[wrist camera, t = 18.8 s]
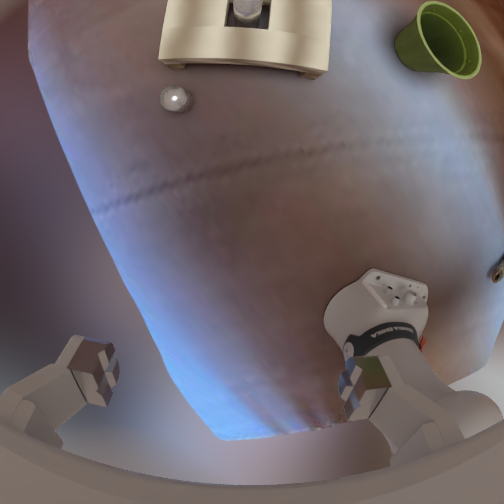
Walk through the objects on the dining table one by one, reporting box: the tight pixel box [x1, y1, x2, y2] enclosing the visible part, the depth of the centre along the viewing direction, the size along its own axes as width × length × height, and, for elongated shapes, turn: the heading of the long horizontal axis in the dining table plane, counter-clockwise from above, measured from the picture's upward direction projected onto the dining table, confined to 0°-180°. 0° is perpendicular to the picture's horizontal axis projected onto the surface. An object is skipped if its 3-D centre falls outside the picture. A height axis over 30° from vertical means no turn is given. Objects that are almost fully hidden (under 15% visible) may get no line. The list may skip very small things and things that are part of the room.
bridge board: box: [158, 0, 332, 80], centre depth 27 cm, size 20×14×7 cm
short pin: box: [160, 86, 194, 113], centre depth 32 cm, size 3×3×6 cm
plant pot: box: [395, 1, 481, 79], centre depth 26 cm, size 12×12×11 cm
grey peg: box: [233, 0, 263, 29], centre depth 25 cm, size 3×3×12 cm
